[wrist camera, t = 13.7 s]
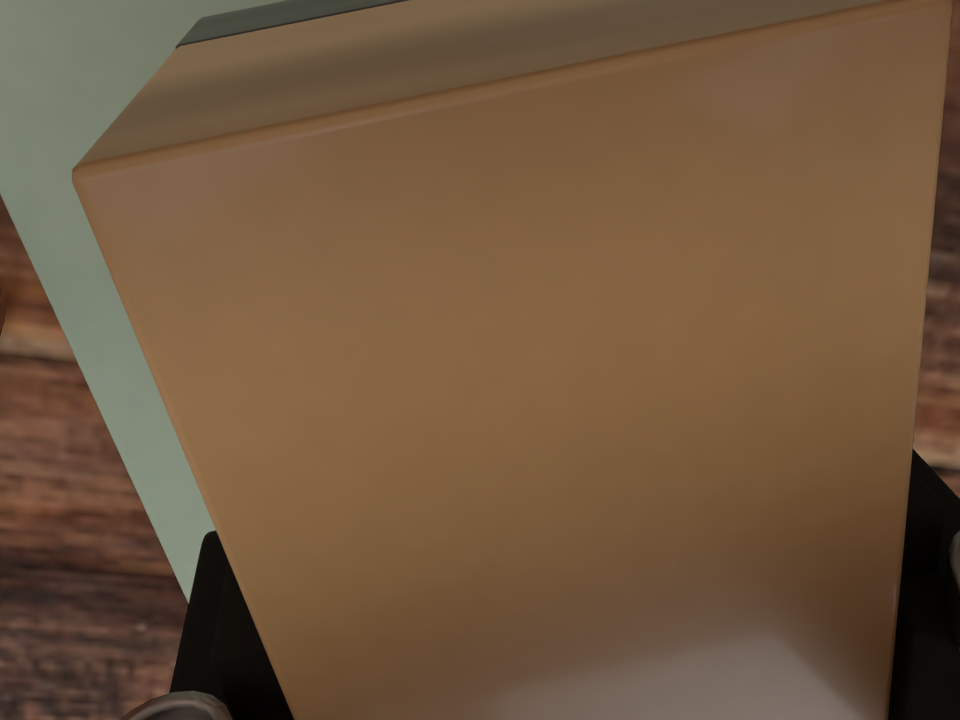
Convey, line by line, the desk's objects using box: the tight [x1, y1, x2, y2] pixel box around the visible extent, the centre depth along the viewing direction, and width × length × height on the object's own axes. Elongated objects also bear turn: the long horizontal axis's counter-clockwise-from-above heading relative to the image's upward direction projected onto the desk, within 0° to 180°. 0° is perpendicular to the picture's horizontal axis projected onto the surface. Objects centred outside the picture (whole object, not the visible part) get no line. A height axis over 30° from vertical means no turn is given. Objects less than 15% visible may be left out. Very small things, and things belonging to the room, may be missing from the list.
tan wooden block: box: [72, 0, 953, 720], centre depth 10 cm, size 12×5×5 cm, turn 10°
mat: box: [0, 0, 287, 604], centre depth 16 cm, size 20×14×1 cm
